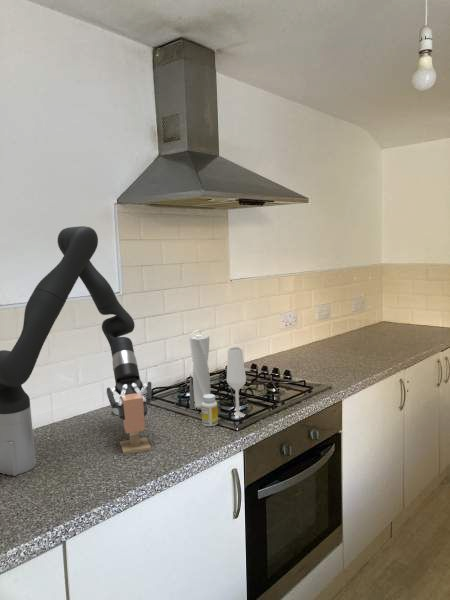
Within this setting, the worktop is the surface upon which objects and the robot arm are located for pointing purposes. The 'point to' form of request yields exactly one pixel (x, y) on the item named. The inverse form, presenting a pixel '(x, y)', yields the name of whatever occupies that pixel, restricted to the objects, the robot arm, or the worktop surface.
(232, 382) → the champagne flute
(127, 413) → the brown upright block
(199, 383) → the skyscraper
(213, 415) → the supplement bottle
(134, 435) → the post
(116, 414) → the ramekin
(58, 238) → the robot arm
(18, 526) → the worktop surface
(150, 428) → the worktop surface
